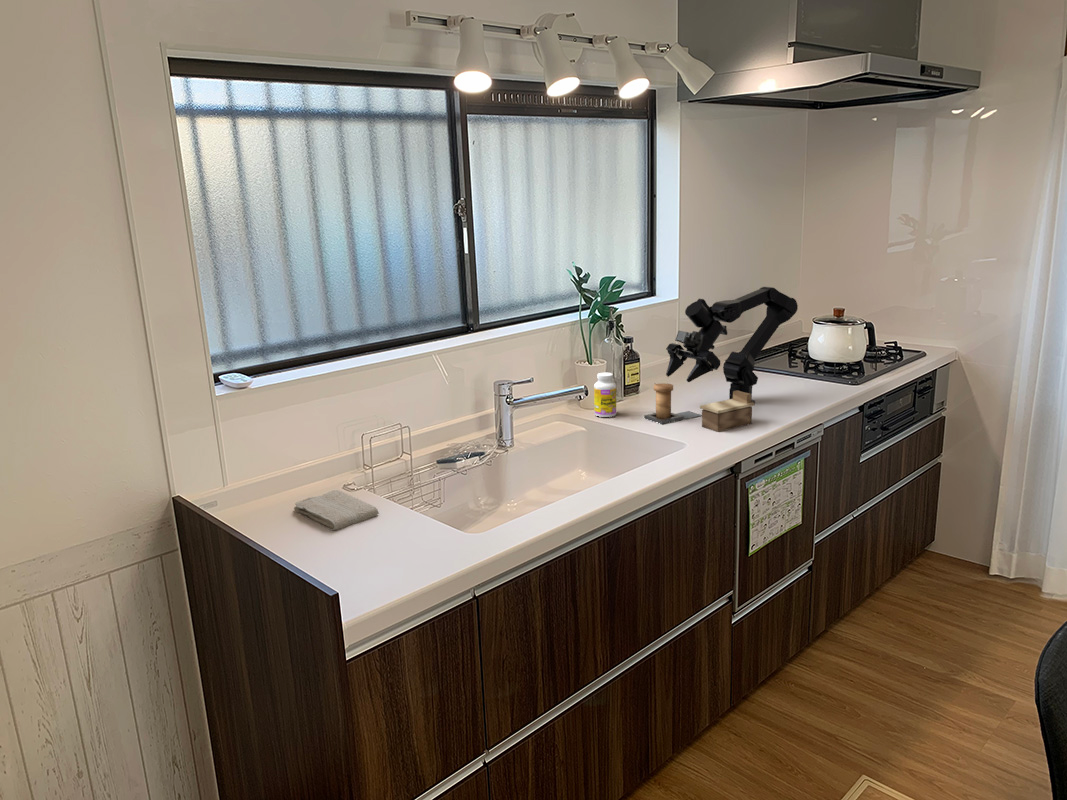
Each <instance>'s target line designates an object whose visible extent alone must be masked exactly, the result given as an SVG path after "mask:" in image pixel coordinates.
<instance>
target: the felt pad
mask: <svg viewBox="0 0 1067 800" xmlns="http://www.w3.org/2000/svg"><path fill="white" fill-rule="evenodd" d="M676 414H677V415H680V416H683V420H690V418H691V419H695V418H699V417H702V414H700V413H697V412H695V411H694V412H693V411H691V410H686V411H682V412H677V413H676Z"/></svg>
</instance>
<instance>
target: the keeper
mask: <svg viewBox="0 0 1067 800" xmlns="http://www.w3.org/2000/svg"><path fill="white" fill-rule="evenodd" d="M643 417H644V418H645V419H644V420H647V419H648V420H647V421H650V420H652V421H651V422H653V421H655V422H654V423H656V422H658V423H657V424H659V423H660V424H659V425H664V423H666V424H668V423H669V422H670V423H674V421H675V422H679V421H682V420H684V419H683V416H680V415H677V413H673V412H671V418H666V419H660V418H657V417H656V412H653V413H649V414H644V416H643ZM678 420H679V421H678ZM670 423H669V424H670Z"/></svg>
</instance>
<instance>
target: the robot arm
mask: <svg viewBox="0 0 1067 800" xmlns="http://www.w3.org/2000/svg"><path fill="white" fill-rule="evenodd" d="M763 304H764V305H765V306H766V314H765V318H764V319H763V320H762V321H761V323H760V324H759V325H758V327H757V328H756V330H755V331H754V332H753V334H752V335H751V337H750V338H749V340H748V341H747V342H746V343H745V345H744V346H743V347H742V349H741V350H740V351H739V352H737V351H731V352H730V353H729V356H728V357H727V358H726V359H725V360H724V364H723V366H722V370H723V375H724V377H725V381H726V382H727V383H730V384H729V385H730V388H729V393H728V394H729V399H733V391H737V390H738V391H741V392H745V393H749V394H751V402H753V403H754V404H755V403H756V400H753V398H752V397H753V386H754V385H757V383H758V380H759V377H758V376H757V374H756V373H754V370H755V363H756V362H755V360H756V358H758V356H759V355H760V352H762V350H763V349H764V347H765V346H766V345H767V343H768V342H769V340H771V338H772V336H773V335H774V334H775V332H776V331H777V330H778V328H779V327H780V326H781V325H782V324H784V323H786V322H789V320H791V318H792V317H793V316H795V314H796V313H797V312H798V309H799V308H798V307H799V305H798V302H797V300H796V299H795V298H794V297H790V296H788V295H787V294H785V293H783V292H781V291H779V290H778V289H776V288H775V287H771V286H761V287H760V288H759V289H757V290H754V291H752V292H749V293H747V294H745V295H742V296H740V297H737V298H735V299H730V300H729V299H728V300H720V301H716V302H714V303H713V304H712V305H711V306H709V304H708V303H707V302H706V300H705V299H704V298H698V299H697V300H696V301H694V302H692V303H690V304H689V305H687V307H686V308H685V312H684V314H685V316H686V317H687V318H688V319H689V320H690V321H691V322H692V323H693V325H694V326H695V328H696V327H697V328H699V329H698V330H699V331H695V330H693V331H692V332H688V331H683V330H678V331H677V334H676V337H675V341H676V342H679V343H681V344H683V345H681V344H678V343H673V342H672V343H669V344H668V345H667V347H666V348H665V349H666V351H667V354H668V355H669V362H668V365H667V369H666V374H665V376H666V377H670V376H672V375H673V374H674V373H675V372H676V371H677V370H679V368H681V367H682V366H683V365H684V364H685V361H686V360H687V359H693V360H695V365H694V366H693V368H692V369H691V371H690V372H689V374H688V376H687V378H686V381H687V383H690V382H692V381H694V380H696V379H698V378H699V377H702V376H703V375H705V374H707V373H710V372H713V371H718V370H719V368H720V366H721V360H720V359H719V358H718V356H717V355H716V354H715V353H714V352H713V351H711V350H715V347H716V346H715V345H714V344H715V343H716V341H717V340H718V338H720V337H719V336H721V335H723V336H727V335H728V330H727V325H723V324H722V323H723V322H724V323H729V324H731V323H734V322H735V321H736V320H738V319H739V318H741V316H742V314H744V312H746V311H749V310H751V309H754V308H756V307H759V306H761V305H763ZM721 322H722V323H721ZM683 347H684V348H685V349H686V350H685V349H684V348H683ZM729 399H727V400H729Z"/></svg>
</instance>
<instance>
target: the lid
mask: <svg viewBox="0 0 1067 800" xmlns="http://www.w3.org/2000/svg"><path fill="white" fill-rule="evenodd" d="M750 406H751V407H755V402H754V403H753V402H751V394H749V393H745V392H741V391H738V390H737V391H733V399H729V400H728V399H725V400H721V401H715V402H710V403H707V404H702V405H701V404H700V405H699V409H701V410H703V409H704V410H707V411H710V412H714V413H717V414H719V413H723V412H728V411H732V410H737V409H741V408H746V407H750Z"/></svg>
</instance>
